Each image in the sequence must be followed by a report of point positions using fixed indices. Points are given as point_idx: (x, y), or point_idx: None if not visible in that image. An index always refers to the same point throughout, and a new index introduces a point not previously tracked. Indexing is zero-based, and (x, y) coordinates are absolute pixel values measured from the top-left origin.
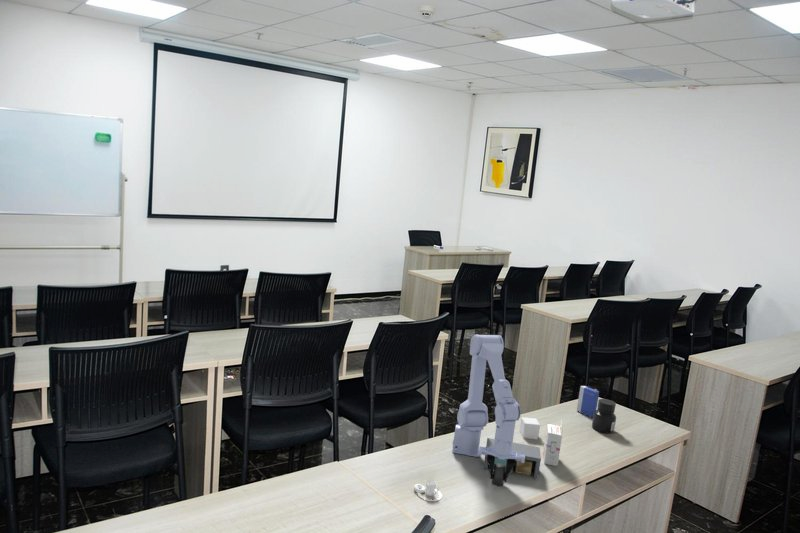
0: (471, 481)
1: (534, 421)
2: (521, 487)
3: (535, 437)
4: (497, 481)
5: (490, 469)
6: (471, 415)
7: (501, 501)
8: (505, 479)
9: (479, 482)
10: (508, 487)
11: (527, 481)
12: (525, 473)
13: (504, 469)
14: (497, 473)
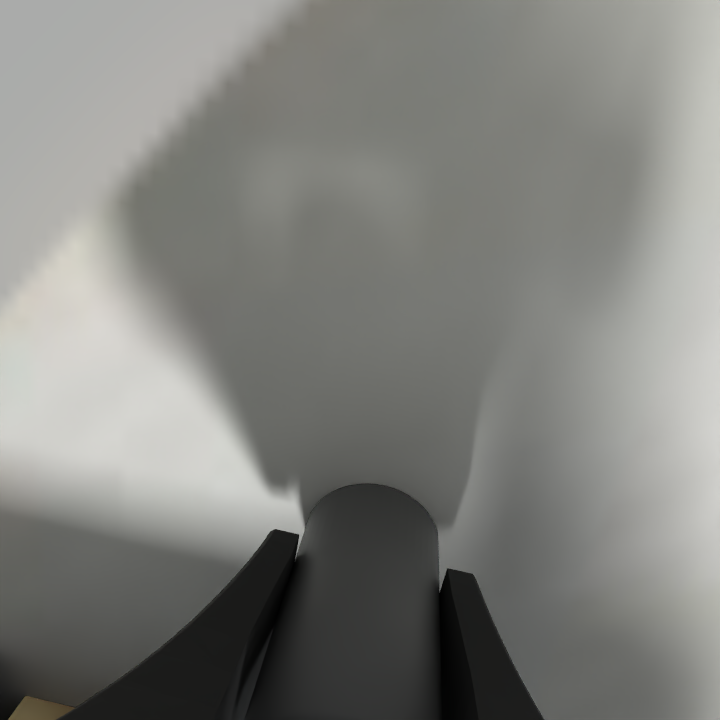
0: (708, 550)
1: None
2: (104, 489)
3: None
4: (386, 527)
5: (525, 703)
6: None
7: (400, 95)
8: (273, 547)
9: (602, 538)
10: (251, 473)
11: (46, 597)
12: (67, 708)
13: (263, 700)
14: (393, 628)
